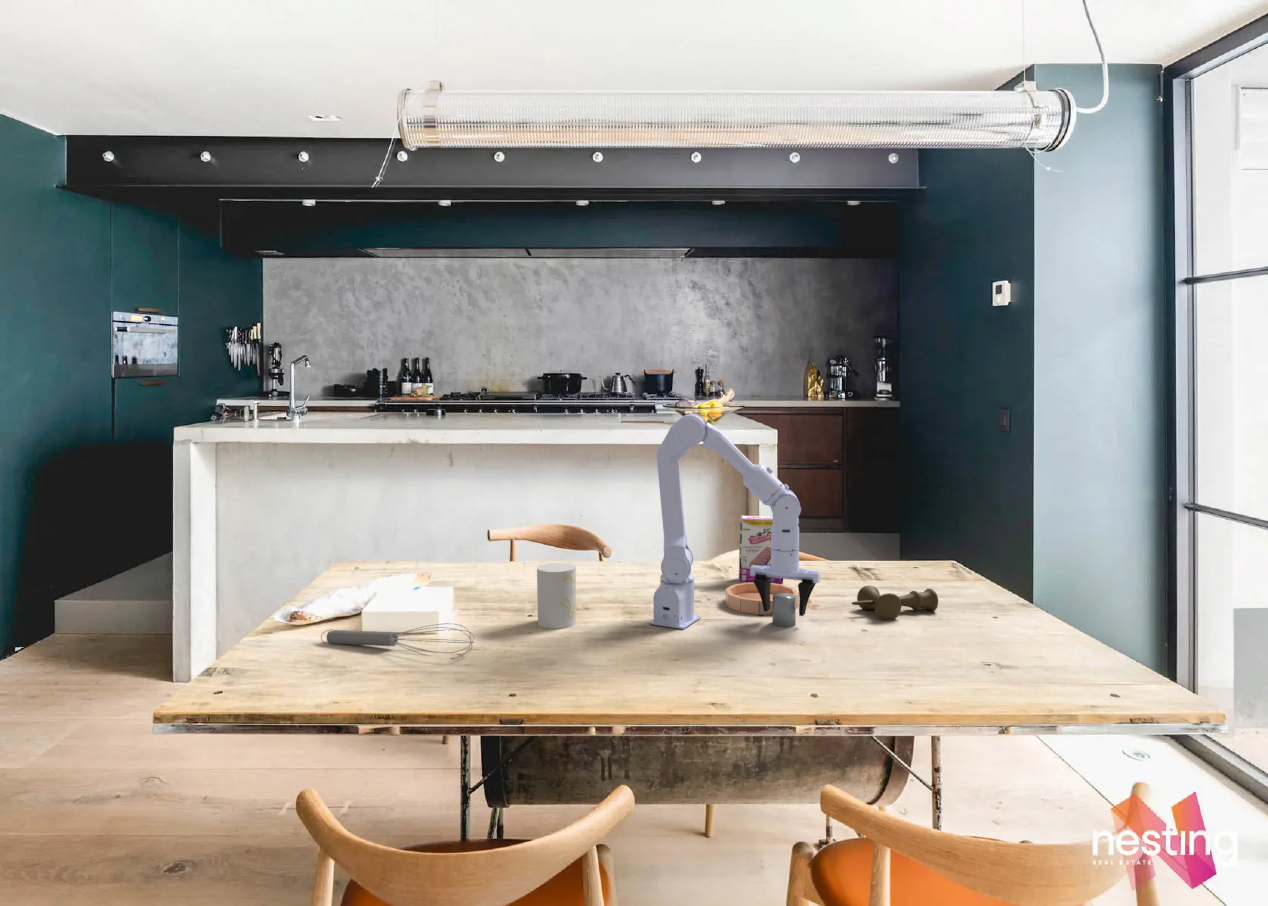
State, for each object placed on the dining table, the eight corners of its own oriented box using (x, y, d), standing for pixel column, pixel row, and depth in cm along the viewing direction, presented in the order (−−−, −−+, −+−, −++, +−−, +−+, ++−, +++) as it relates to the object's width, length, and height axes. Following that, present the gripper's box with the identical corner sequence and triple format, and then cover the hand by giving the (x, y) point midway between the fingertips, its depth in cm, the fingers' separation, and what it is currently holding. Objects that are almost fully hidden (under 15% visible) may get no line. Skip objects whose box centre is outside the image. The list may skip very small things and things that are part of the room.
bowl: (785, 618, 178) (785, 604, 178) (715, 608, 186) (715, 595, 185) (805, 599, 192) (806, 587, 192) (740, 591, 200) (740, 579, 199)
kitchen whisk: (331, 637, 167) (329, 606, 167) (480, 655, 157) (480, 622, 156) (310, 647, 161) (309, 615, 161) (464, 666, 151) (464, 632, 150)
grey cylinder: (791, 628, 171) (792, 600, 170) (769, 625, 173) (769, 597, 173) (798, 622, 175) (798, 594, 175) (776, 619, 177) (776, 591, 177)
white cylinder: (570, 629, 171) (569, 572, 170) (532, 627, 172) (531, 570, 171) (580, 618, 179) (580, 563, 178) (544, 616, 180) (543, 562, 179)
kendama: (945, 618, 179) (862, 622, 175) (920, 607, 189) (840, 611, 184) (947, 591, 179) (863, 594, 174) (921, 581, 188) (841, 584, 184)
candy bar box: (739, 583, 208) (739, 518, 206) (738, 578, 213) (739, 515, 211) (784, 584, 207) (785, 519, 205) (782, 579, 212) (783, 515, 210)
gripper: (824, 548, 173) (823, 611, 174) (758, 542, 180) (757, 603, 181) (815, 554, 167) (814, 620, 168) (746, 548, 173) (746, 611, 175)
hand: (784, 612), depth 174 cm, fingers open, 7 cm apart
